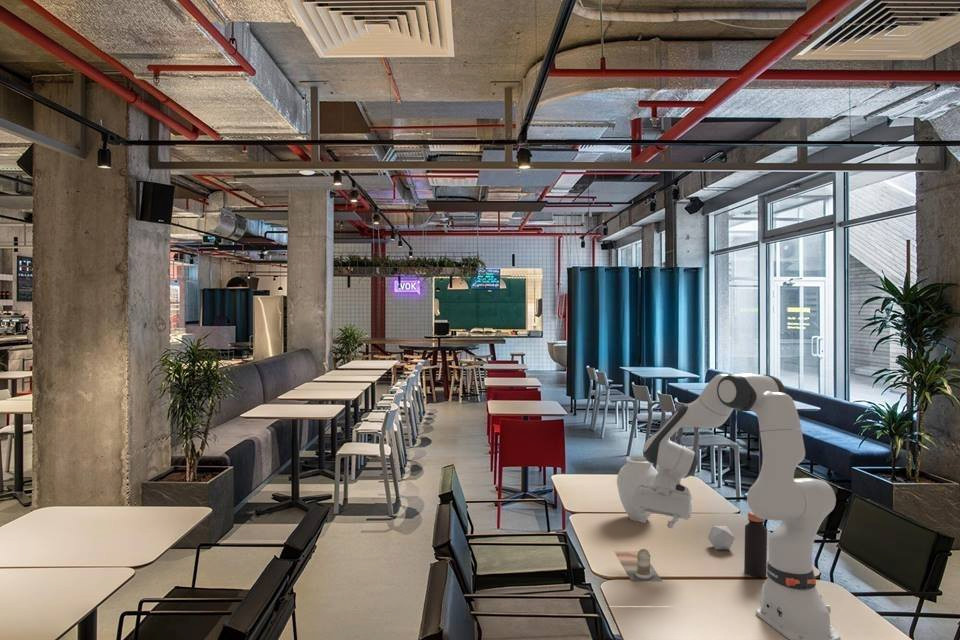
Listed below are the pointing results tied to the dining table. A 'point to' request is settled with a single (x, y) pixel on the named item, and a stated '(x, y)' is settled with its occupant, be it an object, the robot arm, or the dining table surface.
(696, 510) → the dining table surface
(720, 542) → the die
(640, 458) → the vase
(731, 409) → the robot arm
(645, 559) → the pawn
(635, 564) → the game board
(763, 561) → the bottle
